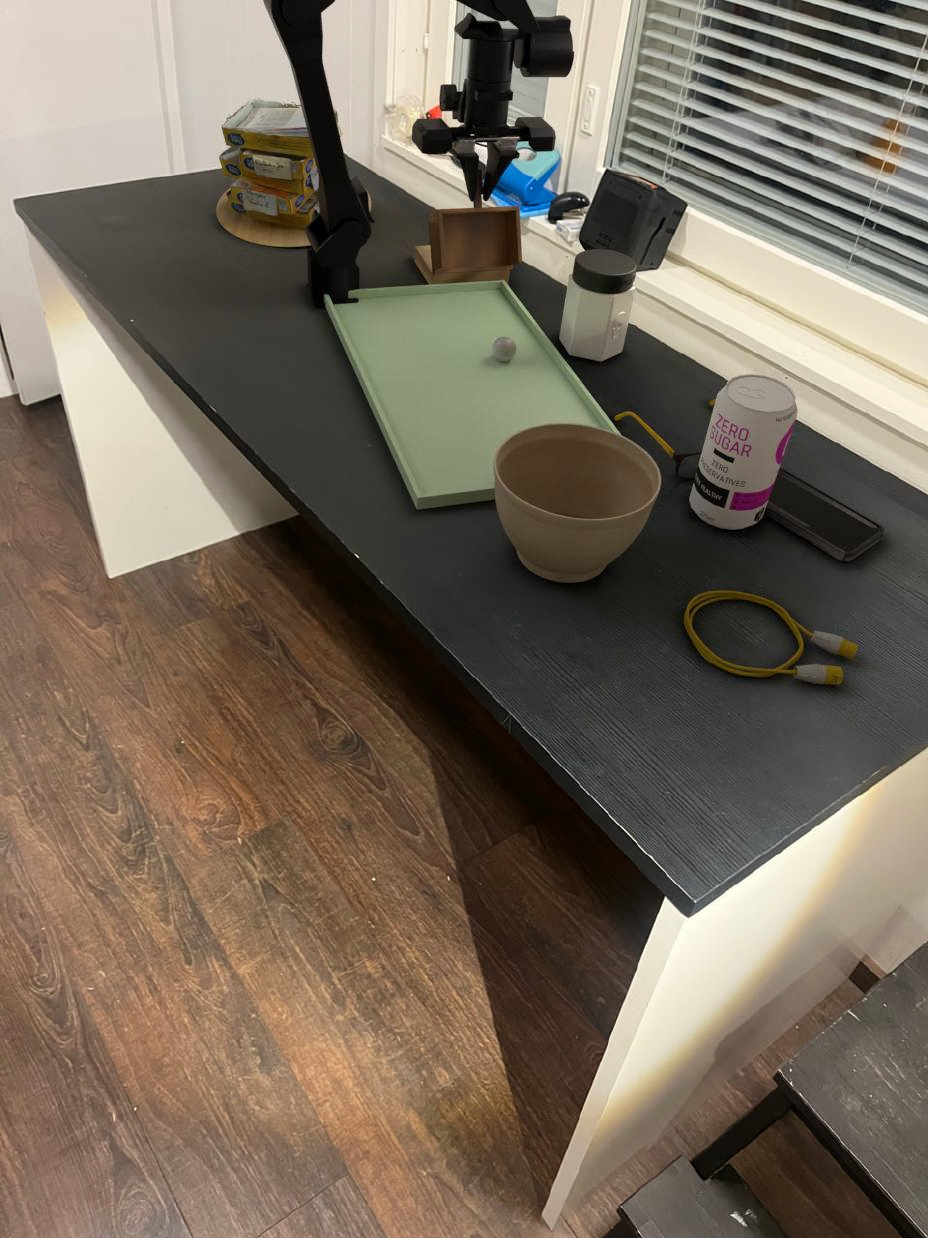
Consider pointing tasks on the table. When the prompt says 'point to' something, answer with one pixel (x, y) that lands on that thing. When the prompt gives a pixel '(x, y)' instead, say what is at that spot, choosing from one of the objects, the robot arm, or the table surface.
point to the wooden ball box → (475, 237)
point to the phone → (820, 518)
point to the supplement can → (743, 451)
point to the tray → (455, 381)
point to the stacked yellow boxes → (269, 175)
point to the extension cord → (822, 639)
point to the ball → (504, 348)
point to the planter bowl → (572, 497)
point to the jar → (598, 304)
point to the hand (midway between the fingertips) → (478, 200)
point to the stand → (425, 266)
